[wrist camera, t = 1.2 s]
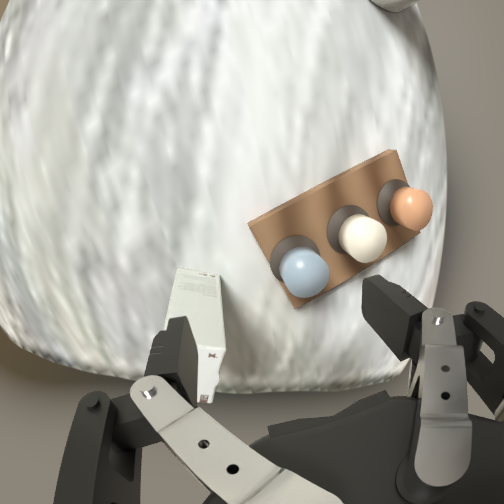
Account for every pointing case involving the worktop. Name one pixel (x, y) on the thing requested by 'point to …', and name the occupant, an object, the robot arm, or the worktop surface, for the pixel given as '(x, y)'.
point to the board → (334, 219)
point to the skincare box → (201, 323)
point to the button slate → (304, 272)
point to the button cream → (363, 238)
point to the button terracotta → (411, 208)
